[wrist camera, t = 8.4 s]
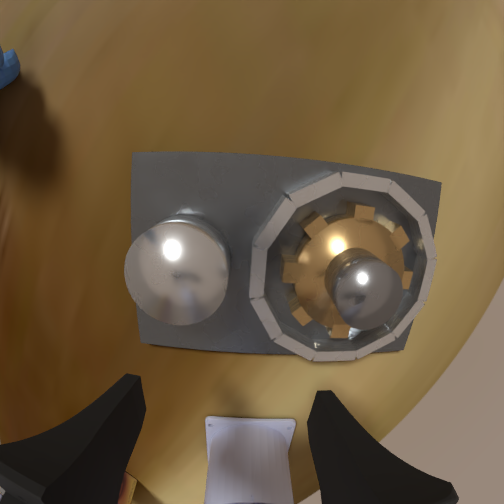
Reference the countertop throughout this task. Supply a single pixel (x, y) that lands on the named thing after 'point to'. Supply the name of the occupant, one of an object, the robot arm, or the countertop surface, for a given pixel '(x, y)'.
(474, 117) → the countertop surface
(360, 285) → the planet gear
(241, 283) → the gear carrier
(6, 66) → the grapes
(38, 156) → the countertop surface
